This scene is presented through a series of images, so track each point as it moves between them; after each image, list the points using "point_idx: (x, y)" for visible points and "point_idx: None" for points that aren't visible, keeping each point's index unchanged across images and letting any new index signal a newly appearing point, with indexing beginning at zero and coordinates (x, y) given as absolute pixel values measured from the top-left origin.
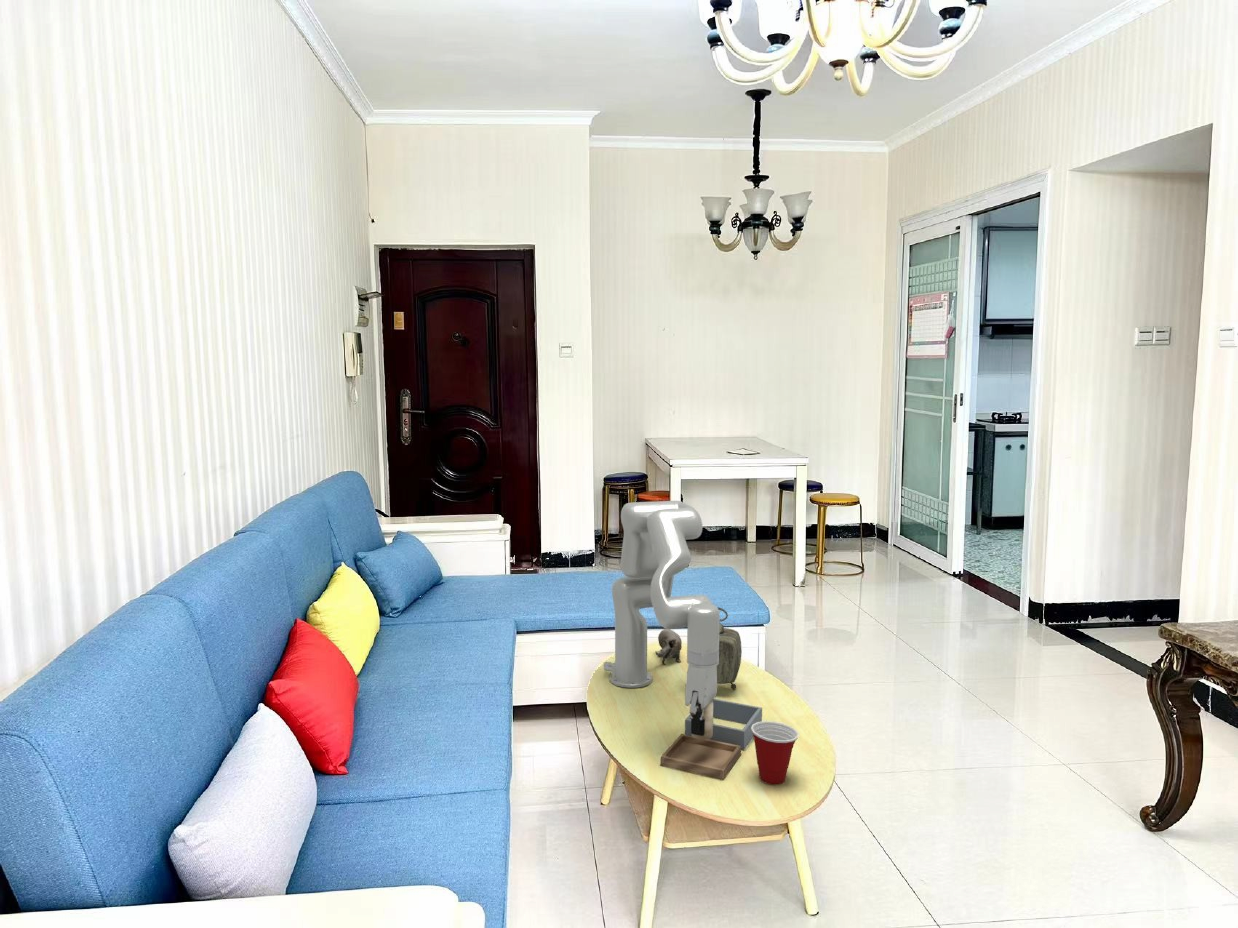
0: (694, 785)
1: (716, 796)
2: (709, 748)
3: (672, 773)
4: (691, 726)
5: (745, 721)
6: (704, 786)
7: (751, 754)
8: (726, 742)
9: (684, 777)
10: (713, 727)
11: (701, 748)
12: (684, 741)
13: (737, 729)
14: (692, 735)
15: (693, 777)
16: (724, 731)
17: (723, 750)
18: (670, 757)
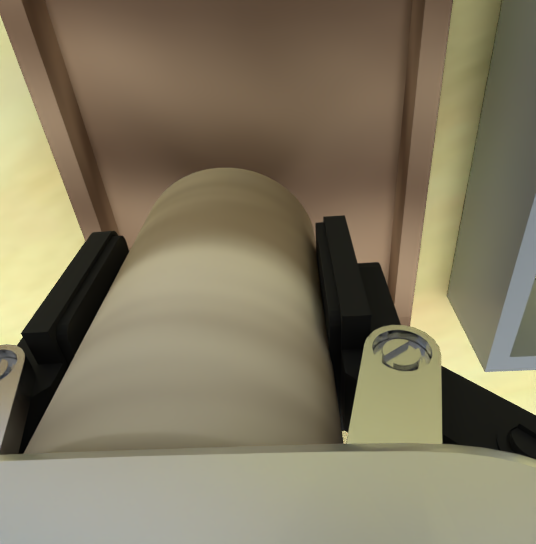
0: (4, 233)
1: (10, 331)
2: (376, 164)
3: (5, 79)
4: (69, 267)
5: None
6: (34, 270)
7: (421, 328)
8: (472, 229)
9: (25, 160)
10: (527, 184)
11: (356, 120)
12: None
13: (504, 336)
14: (160, 196)
15: (61, 199)
16: (500, 254)
17: (384, 237)
18: (29, 30)
